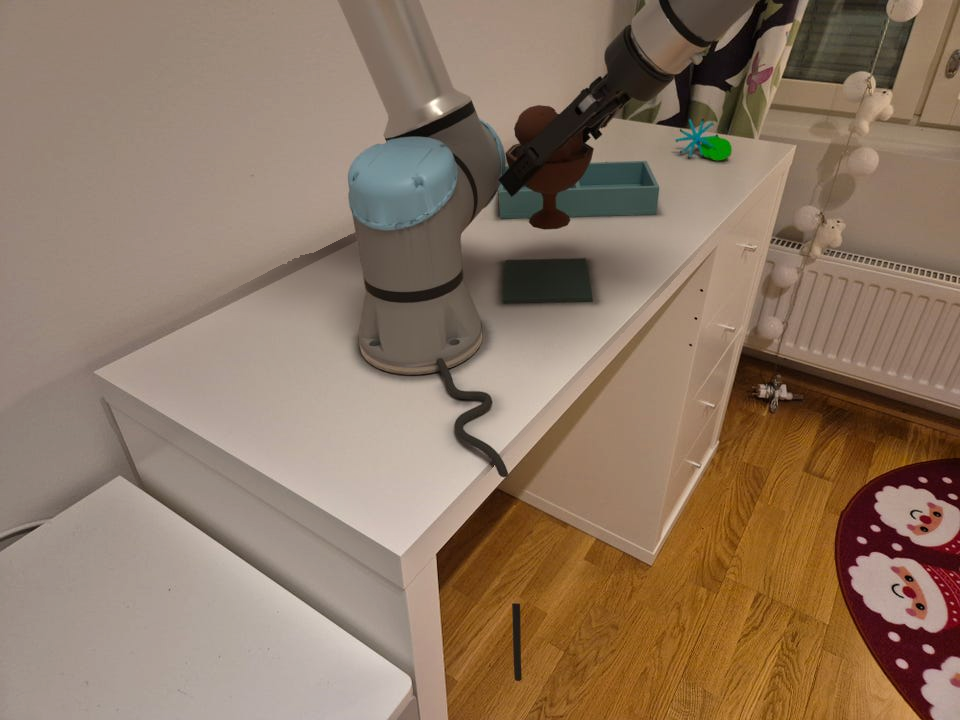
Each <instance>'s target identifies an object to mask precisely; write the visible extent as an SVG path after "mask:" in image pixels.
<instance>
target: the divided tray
mask: <svg viewBox="0 0 960 720" xmlns="http://www.w3.org/2000/svg"><path fill="white" fill-rule="evenodd" d="M508 169H509V166H508V164H507V165H506V164H505V172H506V171H507V170H508ZM659 195H660V185H659V183H658V180H657V179H656V177H655V175H654V173H653V171H652V169H651V167H650V164H649V163H648V161H647V160H632V161H631V160H630V161H629V160H627V161H601V162H600V161H599V162H598V161H597V162H596V161H595V162H590V164H589V166H588V168H587V170H586V171H585V173H584V175H583V176H582V178H581V179H580V180H579V181H578V182H577V183H576V184H575V185H573V186H572V187H570V188H569V189H567V190H565V191H562V192H558V194H557V196H556V208H557V209H559V210H561V211H563V212H565V213H566V214H567V215H568V216H569V217H570V218H575V217H578V218H579V217H611V216H612V217H613V216H616V217H617V216H648V215H649V216H650V215H657V214H658V213H657V212H658V205H659V204H658V203H659ZM498 204H499V219H501V220H503V219H505V220H506V219H530V218H531V216H532V215H533V214H534V213H536V212H538V211H539V210H541V209H543V197H542V195H541V193H538V192H534V191H532V190H530V189H529V188H527V187H526V186H525V185H524V186H523V187H522V188H521V189H520V190H519V191H518V192H517V193H516V194H515V195H514V196H512V197H511V196H510V194H509V193H508V192H507V191H506V189H505V188H504V187H503V185H502V184H501V185H500V187H499V189H498Z"/></svg>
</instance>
